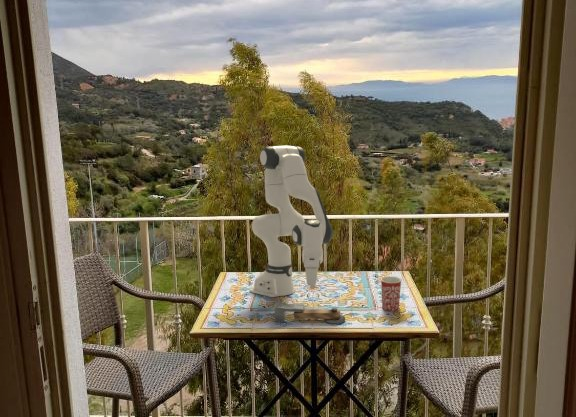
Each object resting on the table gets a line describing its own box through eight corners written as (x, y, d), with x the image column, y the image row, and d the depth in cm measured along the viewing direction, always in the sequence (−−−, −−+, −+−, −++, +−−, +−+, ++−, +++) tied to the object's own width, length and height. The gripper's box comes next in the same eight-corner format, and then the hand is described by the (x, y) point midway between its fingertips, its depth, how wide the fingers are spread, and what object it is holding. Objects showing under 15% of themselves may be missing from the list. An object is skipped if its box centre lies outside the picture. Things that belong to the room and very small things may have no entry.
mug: (403, 311, 231) (404, 282, 229) (383, 312, 231) (383, 283, 228) (395, 301, 244) (396, 273, 242) (376, 302, 243) (376, 274, 241)
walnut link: (340, 315, 226) (340, 306, 225) (340, 319, 221) (340, 311, 220) (294, 314, 227) (294, 306, 227) (293, 319, 222) (293, 310, 222)
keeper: (304, 316, 229) (304, 302, 228) (303, 322, 222) (302, 308, 221) (276, 315, 230) (276, 301, 229) (274, 322, 223) (274, 307, 222)
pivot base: (320, 322, 222) (320, 320, 222) (328, 315, 230) (328, 312, 230) (340, 325, 218) (340, 323, 218) (348, 318, 226) (348, 315, 226)
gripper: (306, 250, 239) (306, 279, 242) (303, 264, 219) (303, 296, 222) (320, 250, 238) (320, 279, 241) (318, 265, 218) (318, 296, 221)
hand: (312, 287), depth 231 cm, fingers closed
